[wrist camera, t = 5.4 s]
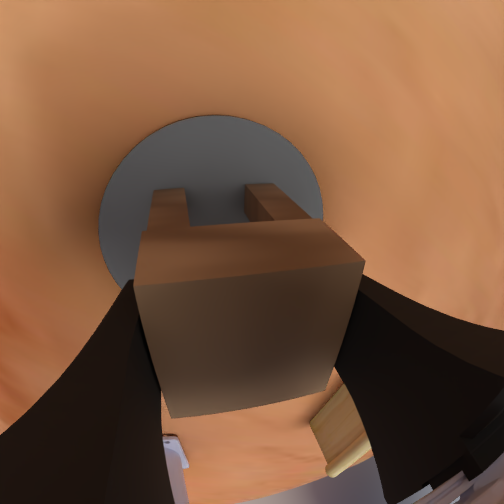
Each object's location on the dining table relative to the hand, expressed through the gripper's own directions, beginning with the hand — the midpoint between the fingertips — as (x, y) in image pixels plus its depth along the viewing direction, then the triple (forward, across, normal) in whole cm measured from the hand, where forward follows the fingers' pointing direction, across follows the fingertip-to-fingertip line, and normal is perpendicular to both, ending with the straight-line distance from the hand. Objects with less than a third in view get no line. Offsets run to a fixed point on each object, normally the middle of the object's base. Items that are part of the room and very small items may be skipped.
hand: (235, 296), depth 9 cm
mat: (+5, 0, 0) cm, 5 cm away
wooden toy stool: (+4, 0, 0) cm, 4 cm away
